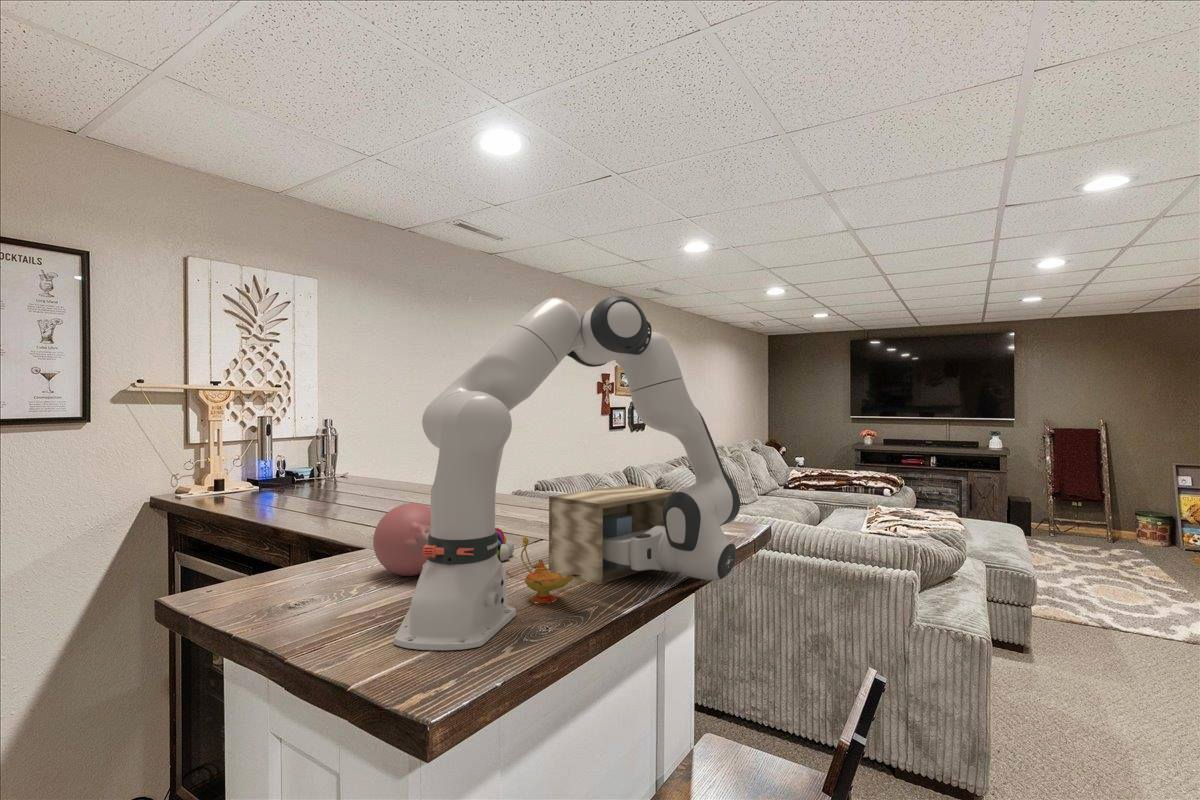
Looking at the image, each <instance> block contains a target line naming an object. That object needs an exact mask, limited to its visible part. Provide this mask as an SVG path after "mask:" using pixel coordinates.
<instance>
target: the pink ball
mask: <svg viewBox="0 0 1200 800" xmlns="http://www.w3.org/2000/svg"><path fill="white" fill-rule="evenodd" d="M430 532H431V506H428V505H426V504H422V503H417V502H408V503H404V504H401V505H397V506H395V507H393V508H392V509H391V510H390V509H389V511H388V512H387V513H385V514H384V515H383V516H382V517H381V518H380V520H379V522H378V523H377V525H376V527H375V530H374V533H373V539H372V542H373V544H372V545H373V551H374V554H375V556H376V558H377V560H378V562H379V563H380V564H381V565H382V566H383V568H385V569H386V570H387V571H388V572H391V573H393V574H395V575H399V576H403V577H412V576H418V575H419V576H420V574H421V571H422V568H423V565H424V564H425V563H426V561H427V559H426V558H424V557H423V549H424V548H423V547H424V546H425V545H427V542H428V536H429V534H430Z"/></svg>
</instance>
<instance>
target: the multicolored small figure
mask: <svg viewBox="0 0 1200 800" xmlns="http://www.w3.org/2000/svg"><path fill="white" fill-rule="evenodd" d="M495 531H496V532H497V538H498V552H497V553H496V555H497V557H499V561H500V562H505V561H504V560H506V561H507V560H508V559H509V557H510V556H512V555H513V554H514V552H515V545H514V543H513V542H512V541H511V540H510V539H509V540H508V539H507V537H506V536H505V534H504V531H503V530H502V529H500V528H498V527H495Z"/></svg>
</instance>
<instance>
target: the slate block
mask: <svg viewBox="0 0 1200 800" xmlns="http://www.w3.org/2000/svg"><path fill="white" fill-rule="evenodd" d="M629 533H632V516H629V515H623V514H617V513H614V514H609V515H604V516H603V537H604V536H610V537H616V536H621V535H625V534H629ZM603 566H605V567H609V568H613V569H621V568H624V567H627V566H628V565H621V564H617V563H614V562H611V561H608V560H605V559H603ZM630 566H631V565H630Z"/></svg>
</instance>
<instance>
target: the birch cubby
mask: <svg viewBox="0 0 1200 800" xmlns="http://www.w3.org/2000/svg"><path fill="white" fill-rule="evenodd" d="M675 492H677V491H676V490H670V489H661V488H654V487H645V486H637V485H631V484H630V485H628V484H624V485H618V486H612V487H603V488H597V489H590V490H584V491H577V492H570V493H561V494H554V495H549V496H548V571H549V572H554V573H557V574H559V575H565V576H570V575H575V574H580V575H581V576H580V577H575V578H574V579H579V580H581V581H585V582H588V583H593V584H596V585H603V584H606V583H607V582H611V581H615V580H617V579H618V580H619V579H621V578H624V577H627V576H630V575H634V574H636V573H639V572H642V571H644V570H641V571H636V570H632V569H631V566H627V567H624V568H621V569H613V568H609V567H605V566H603V516H604V515H609V514H614V513H617V514H623V515H629V516H632V532H638V531H642V530H646V529H650V528H653V527H655V526H664V520H663V506H664V503H665V500H666V499H667V497H668V496H669V495H671V494H672V493H675ZM664 527H665V526H664Z"/></svg>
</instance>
